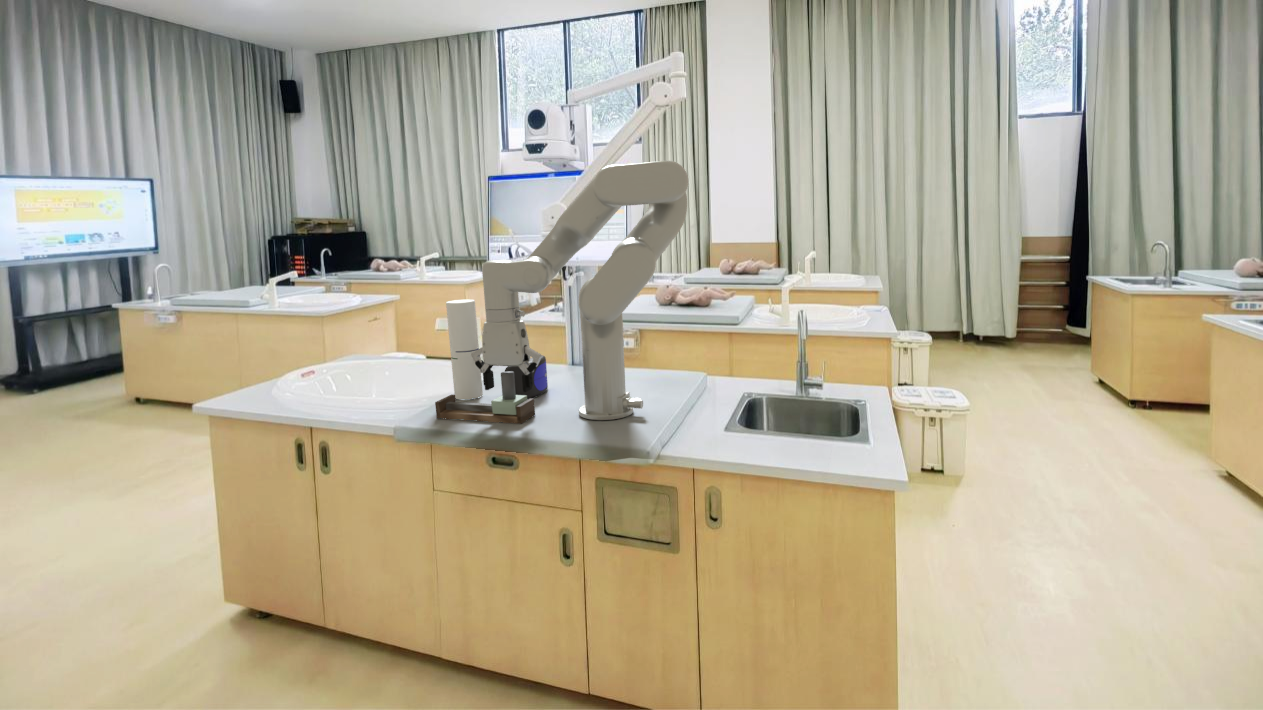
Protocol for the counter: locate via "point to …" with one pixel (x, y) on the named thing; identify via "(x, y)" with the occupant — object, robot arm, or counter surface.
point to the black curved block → (537, 376)
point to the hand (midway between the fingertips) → (508, 389)
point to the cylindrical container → (464, 348)
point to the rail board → (481, 411)
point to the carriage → (507, 396)
